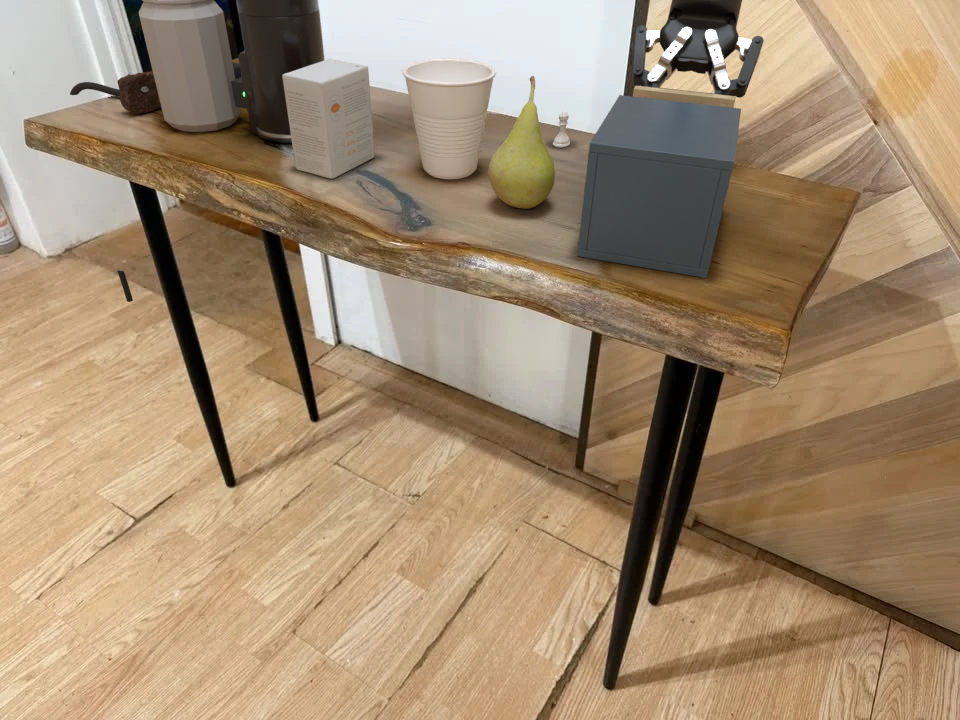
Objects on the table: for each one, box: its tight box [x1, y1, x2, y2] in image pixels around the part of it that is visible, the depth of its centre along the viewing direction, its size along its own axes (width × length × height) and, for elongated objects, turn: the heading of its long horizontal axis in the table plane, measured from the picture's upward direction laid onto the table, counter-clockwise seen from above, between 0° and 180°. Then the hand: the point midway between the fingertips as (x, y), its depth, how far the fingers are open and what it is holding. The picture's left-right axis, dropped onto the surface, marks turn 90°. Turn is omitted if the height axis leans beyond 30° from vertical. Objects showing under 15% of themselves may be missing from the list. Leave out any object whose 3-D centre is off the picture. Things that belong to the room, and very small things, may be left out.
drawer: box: [632, 85, 737, 108], centre depth 74 cm, size 18×10×9 cm, turn 161°
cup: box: [401, 57, 497, 180], centre depth 78 cm, size 10×10×11 cm
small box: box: [282, 58, 376, 180], centre depth 79 cm, size 8×6×10 cm
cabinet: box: [576, 94, 742, 279], centre depth 66 cm, size 15×12×11 cm
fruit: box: [488, 75, 556, 210], centre depth 71 cm, size 7×8×12 cm
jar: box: [138, 0, 242, 133], centre depth 88 cm, size 10×10×18 cm
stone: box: [117, 70, 162, 114], centre depth 96 cm, size 8×3×5 cm, turn 147°
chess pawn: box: [552, 111, 571, 149], centre depth 88 cm, size 3×2×4 cm
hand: (679, 122), depth 78 cm, fingers closed on drawer, 6 cm apart
